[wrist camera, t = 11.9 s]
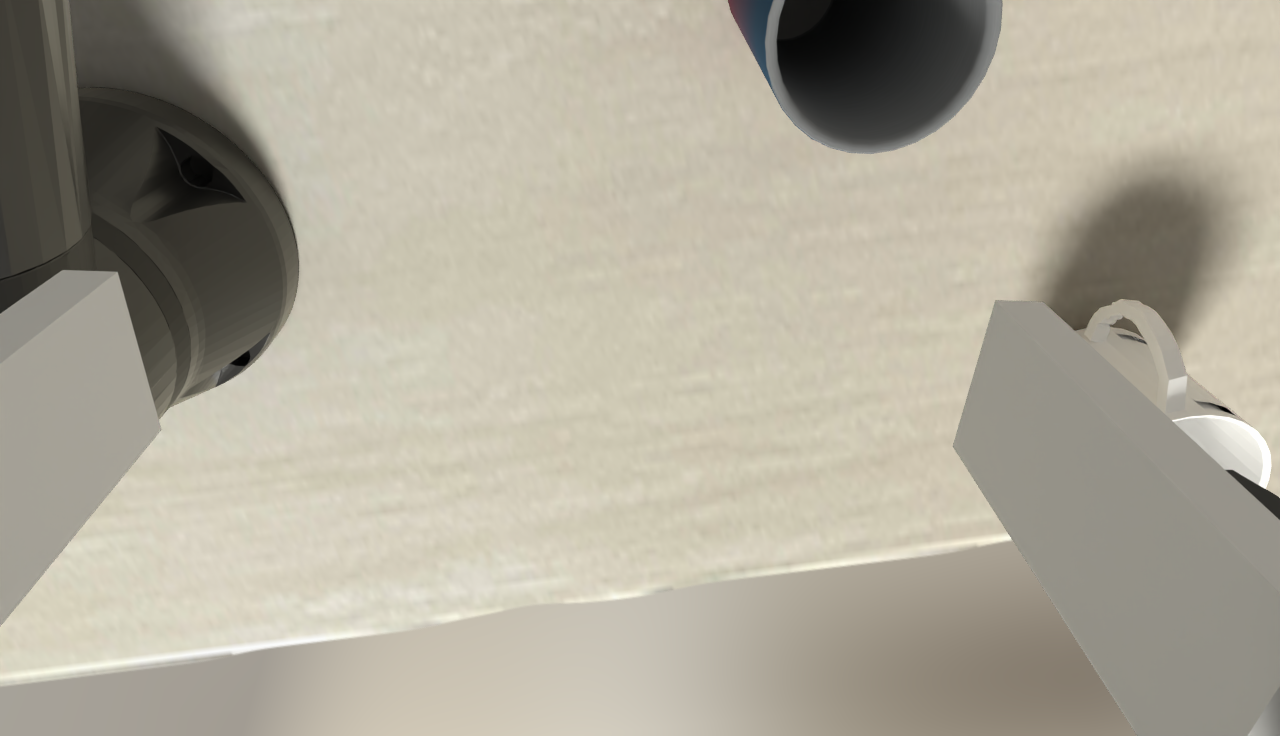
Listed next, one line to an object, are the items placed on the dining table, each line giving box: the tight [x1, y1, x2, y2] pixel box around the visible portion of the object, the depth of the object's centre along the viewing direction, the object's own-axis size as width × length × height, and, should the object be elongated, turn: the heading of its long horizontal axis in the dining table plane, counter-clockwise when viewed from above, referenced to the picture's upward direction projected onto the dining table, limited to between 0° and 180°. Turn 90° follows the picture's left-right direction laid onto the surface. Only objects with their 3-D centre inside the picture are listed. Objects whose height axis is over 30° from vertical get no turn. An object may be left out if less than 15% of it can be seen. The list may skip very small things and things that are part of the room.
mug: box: [1075, 299, 1271, 489], centre depth 43 cm, size 12×9×9 cm
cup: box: [728, 0, 1002, 154], centre depth 30 cm, size 7×7×15 cm
